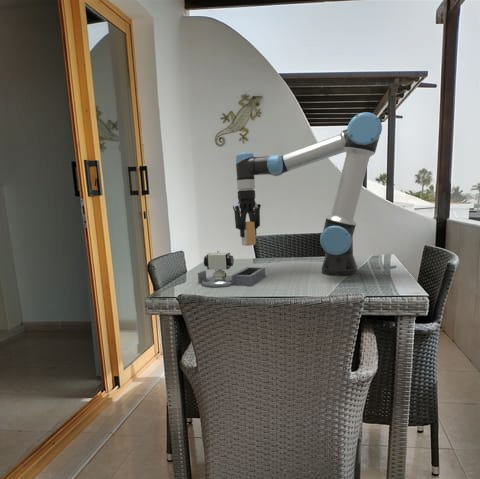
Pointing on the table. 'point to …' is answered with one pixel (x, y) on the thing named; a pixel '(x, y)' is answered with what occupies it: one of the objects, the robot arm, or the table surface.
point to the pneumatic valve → (218, 263)
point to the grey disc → (215, 283)
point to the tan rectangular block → (250, 233)
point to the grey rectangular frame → (249, 276)
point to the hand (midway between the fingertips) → (248, 244)
